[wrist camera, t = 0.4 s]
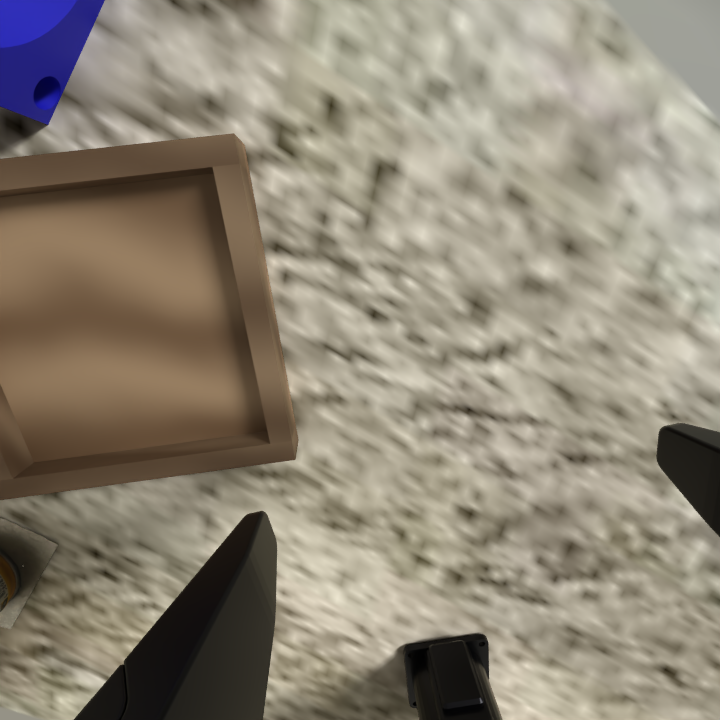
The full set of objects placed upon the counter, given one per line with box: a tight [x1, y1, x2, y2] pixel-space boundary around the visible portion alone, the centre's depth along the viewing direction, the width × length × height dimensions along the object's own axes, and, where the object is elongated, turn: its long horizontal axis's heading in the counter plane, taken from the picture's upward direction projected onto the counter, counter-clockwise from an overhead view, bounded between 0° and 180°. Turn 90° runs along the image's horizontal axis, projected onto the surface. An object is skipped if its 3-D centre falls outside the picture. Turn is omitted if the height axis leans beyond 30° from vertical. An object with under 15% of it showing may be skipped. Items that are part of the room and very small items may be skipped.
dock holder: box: [0, 134, 298, 500], centre depth 20 cm, size 16×16×2 cm
